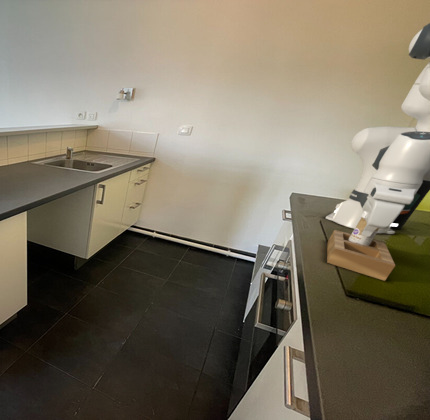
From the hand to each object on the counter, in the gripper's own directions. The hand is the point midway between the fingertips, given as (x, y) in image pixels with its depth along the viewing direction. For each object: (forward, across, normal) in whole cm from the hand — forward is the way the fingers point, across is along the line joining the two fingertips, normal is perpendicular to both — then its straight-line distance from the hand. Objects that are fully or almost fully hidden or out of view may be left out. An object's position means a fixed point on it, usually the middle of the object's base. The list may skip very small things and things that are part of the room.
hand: (364, 232), depth 76 cm
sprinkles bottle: (+7, 0, 0) cm, 7 cm away
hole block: (+8, +4, 0) cm, 9 cm away
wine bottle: (+8, -51, +12) cm, 53 cm away
